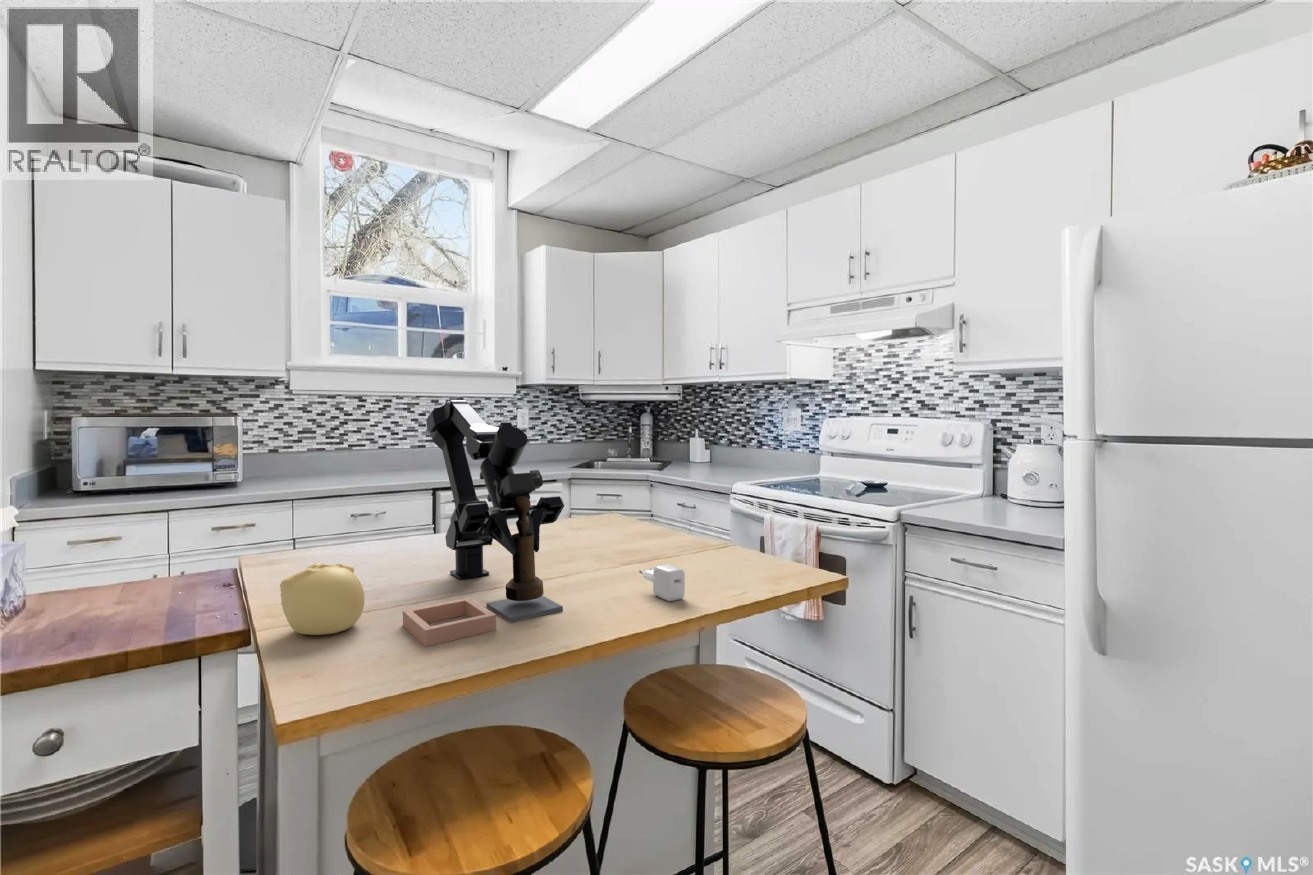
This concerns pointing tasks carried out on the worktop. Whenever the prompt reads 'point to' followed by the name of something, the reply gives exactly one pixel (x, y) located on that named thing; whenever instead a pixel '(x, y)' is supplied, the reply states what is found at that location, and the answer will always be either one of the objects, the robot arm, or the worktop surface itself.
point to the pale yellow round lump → (322, 599)
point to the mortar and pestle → (523, 559)
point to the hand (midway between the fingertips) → (526, 552)
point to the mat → (523, 608)
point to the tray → (431, 635)
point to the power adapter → (666, 581)
